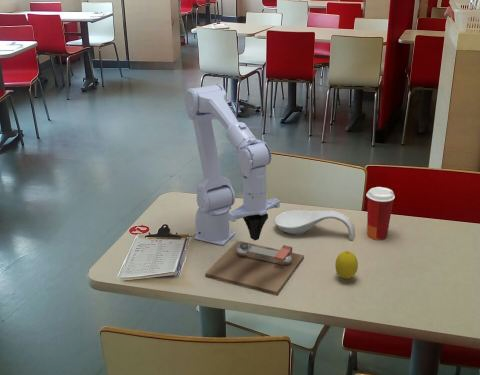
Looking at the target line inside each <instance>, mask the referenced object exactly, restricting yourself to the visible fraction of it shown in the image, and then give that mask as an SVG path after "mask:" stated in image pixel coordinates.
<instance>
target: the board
mask: <svg viewBox="0 0 480 375" xmlns="http://www.w3.org/2000/svg"><path fill="white" fill-rule="evenodd" d="M242 243H247V244H249V245H251V246H255V247H260V248H264V249H269V250H274V251H279V250H280V249H278V248H272V247H268V246H264V245H259V244H254V243H252V242H251V243H250V242H245V241H241V240H236V241H235V242H234V244H232V246H230V248H229V249H227V251H225V252H224V253H223V255H221V257H220V258H218V260H217V261H216V262H214V264H212V266H211V267H210V268H209V269H208V270H207V271H206V272H205V273H204V277H205V278H209V279H212V280H215V281H216V280H217V281H220V282H224V283H228V284H230V285H231V284H232V285H236V286H240V287H243V288H247V289H251V290H255V291H259V292H263V293H265V294H266V293H267V294H270V295H275V296H278V295H279V294H280V292H281V291H282V290H283V289H284V287H285V285H286V284H287V283H288V282H289V280H290V279H291V277H292V276H293V274H294V273H295V272H296V270H297V268H298V267H299V266H300V264H301V263H302V262H303V260H304V259H305V255H304V254H299V253H295V252H292V261H291V264H289V265H282V264H278V263H273V262H269V261H264V260H260V259H255V258H250V257H241V256H239V255H237V246H238V245H240V244H242Z"/></svg>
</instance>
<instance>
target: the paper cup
mask: <svg viewBox="0 0 480 375" xmlns="http://www.w3.org/2000/svg"><path fill="white" fill-rule="evenodd" d="M366 197H367V221H366V222H367V223H366V226H367V227H366V233H367V237H368V238H369V239H372V240H375V241H382V240H385V239H386V238H387V236H388V233H389V227H390V221H391V217H392V216H391V214H392V208H393V204H394V199H395V197H396V196H395V193H394V191H393V190H392V189H390V188H388V187H382V186H376V187H372V188H370V189H369V190H368V191H367V192H366Z"/></svg>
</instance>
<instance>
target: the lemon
mask: <svg viewBox="0 0 480 375" xmlns="http://www.w3.org/2000/svg"><path fill="white" fill-rule="evenodd" d="M334 266H335V271H336V273H337V274H338V275H339V277H341V278H343V279H345V280H347V279H350V278H353V277H354V276H355V275H356V273H357V272H358V269H359V268H358V266H359V263H358V258H357V256H356V255H355V254H354V253H353V252H352V251H349V250H345V251H342V252H340V253H339V254H338V255H337V257H336V260H335V265H334Z"/></svg>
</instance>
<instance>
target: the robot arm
mask: <svg viewBox="0 0 480 375" xmlns="http://www.w3.org/2000/svg"><path fill="white" fill-rule="evenodd" d="M184 103H185V108H186V109H185V110H186V113H187V117H188V119H189V120H191V121H192V124H193V129H194V132H195V138H196V139H195V140H196V144H197V150H198V156H199V159H200V160H199V161H200V164H201V170H202V175H203V179H202V180H201V181H200V182H199V183H198V185H197V186H196V203H197V207H198V208H197V210H196V213H195V217H194V218H195V237H194V239H195V240H198V241H202V242H206V243H210V244H211V243H212V244H214V245H219V246H224V245H226V244H227V242H228V241H230V239H232V238H233V236H235V234H236V232H235V231H232V230H230V221H231V222H232V223H234V222H237V221H238V220H240V219H243V221H244V223H245V225H246V226H247V230H248V233H249V236H250V239H252V240H253V241H254V242H255V241H258V240H259V239H260V237H261V234H262V230H263V227H264V225H265V223H266V222H267V220H268V219H269V214H268V211H269V210H271V209H274V208H275V209H279V208H280V206H281V204H280V202H281V201H280V200H279V199H277V198H275V197H274V198H271V199H267V166H269V165H270V164H271V161H272V152H271V149H270V147H269V145H268V144H267V142H265V141H262V140H260V139H257V138H256V136H255V135H254V133H253V132H251V130H250V128H249V127H248V126H247V124H246V123H245V122H242V121H240V122H239V120H238V119H237V117H236V115H235V114H234V111H233V110H232V109H231V107H230V105H229V103H228V94H227V91H226V90H225V87H224V86H223V85H221V84H220V83H217V84H211V85H207V86H201V87H200V86H199V87H194V88H193V87H189V88H188V89H187V90H186V92H185V96H184ZM214 117H215V118H216V119H217V120H218V122H220V124H221V125H222V126H223V127H224V128H225V129H226V134H225V136H226V138H227V140H228V141H229V142H230V144H231V145H232V147H233V148H234V149H235V152H236V153H237V159H238V163H239V166H240V172H241V175H242V195H243V197H242V198H243V199H242V200H243V201H242V205H241V206H238V207H237V208H235V209H233V210H232V206H233V205H234V204H235V202H236V193H235V190H234V188H233V187H232V183H231V180H230V179H228V178H227V177H225V176H223V175H222V170H221V165H220V161H219V160H220V159H219V155H218V154H219V153H218V149H217V143H216V138H215V132H214V128H213V124H212V123H213V122H212V120H213V118H214ZM230 210H232V211H230Z"/></svg>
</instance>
